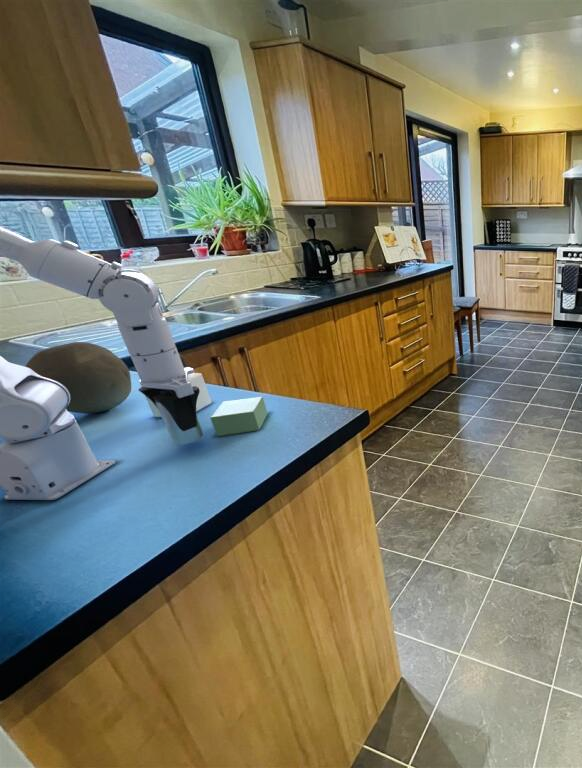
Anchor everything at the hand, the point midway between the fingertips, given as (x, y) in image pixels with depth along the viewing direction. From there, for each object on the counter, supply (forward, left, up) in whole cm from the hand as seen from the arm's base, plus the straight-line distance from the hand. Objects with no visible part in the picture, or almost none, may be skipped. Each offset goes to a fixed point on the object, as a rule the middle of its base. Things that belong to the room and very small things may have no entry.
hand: (183, 424), depth 69 cm
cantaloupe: (+13, +31, -5) cm, 34 cm away
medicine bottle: (+14, +13, -5) cm, 20 cm away
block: (+8, -4, -5) cm, 10 cm away
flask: (0, 0, -3) cm, 3 cm away
